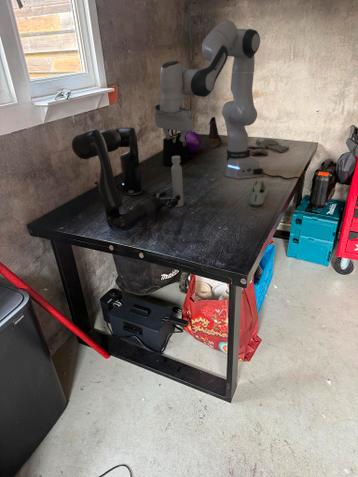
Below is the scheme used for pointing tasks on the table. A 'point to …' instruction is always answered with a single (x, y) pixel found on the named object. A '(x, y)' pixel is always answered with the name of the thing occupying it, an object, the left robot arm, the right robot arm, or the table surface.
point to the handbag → (174, 148)
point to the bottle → (177, 183)
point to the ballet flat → (258, 193)
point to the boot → (214, 134)
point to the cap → (176, 159)
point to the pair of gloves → (267, 144)
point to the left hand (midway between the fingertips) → (172, 195)
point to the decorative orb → (193, 141)
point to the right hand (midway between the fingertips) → (175, 140)
